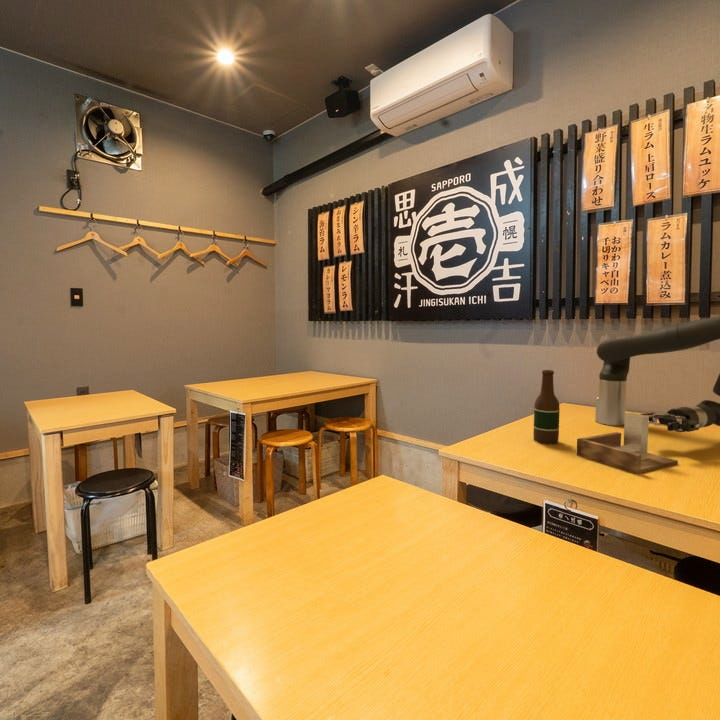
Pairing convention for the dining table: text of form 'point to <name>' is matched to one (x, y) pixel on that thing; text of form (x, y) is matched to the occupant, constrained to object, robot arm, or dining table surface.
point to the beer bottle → (546, 412)
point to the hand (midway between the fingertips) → (653, 424)
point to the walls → (609, 450)
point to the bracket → (636, 434)
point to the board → (646, 463)
